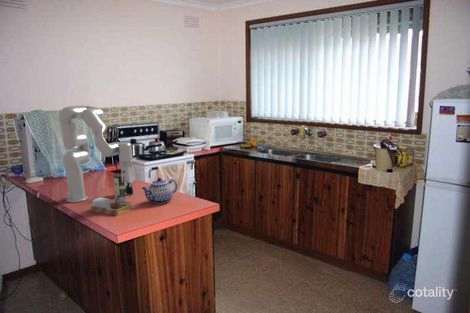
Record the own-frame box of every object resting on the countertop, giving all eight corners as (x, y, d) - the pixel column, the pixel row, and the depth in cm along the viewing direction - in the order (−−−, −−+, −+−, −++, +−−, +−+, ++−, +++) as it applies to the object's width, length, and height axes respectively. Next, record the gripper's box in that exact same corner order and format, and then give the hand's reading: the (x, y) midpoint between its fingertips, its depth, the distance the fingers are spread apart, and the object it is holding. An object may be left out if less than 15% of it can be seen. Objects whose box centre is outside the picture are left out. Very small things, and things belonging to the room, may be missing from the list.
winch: (109, 204, 228) (108, 197, 227) (118, 201, 235) (118, 194, 234) (122, 206, 224) (121, 199, 223) (131, 202, 231) (130, 195, 230)
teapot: (171, 194, 246) (170, 172, 243) (185, 199, 234) (183, 176, 232) (136, 203, 229) (134, 179, 226) (149, 208, 218) (147, 183, 215)
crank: (116, 197, 227) (115, 188, 226) (117, 195, 230) (116, 187, 229) (133, 196, 228) (132, 187, 227) (133, 194, 231) (133, 186, 230)
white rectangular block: (93, 210, 219) (92, 200, 218) (101, 207, 224) (100, 197, 223) (103, 211, 215) (102, 201, 214) (110, 208, 221) (109, 198, 220)
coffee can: (134, 193, 251) (132, 173, 249) (126, 198, 241) (125, 176, 239) (120, 193, 253) (118, 172, 251) (112, 197, 243) (110, 176, 241)
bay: (90, 211, 216) (90, 206, 216) (105, 205, 226) (104, 200, 226) (117, 215, 208) (116, 210, 207) (131, 209, 218) (130, 204, 217)
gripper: (127, 165, 214) (130, 196, 218) (137, 160, 229) (140, 189, 232) (115, 166, 215) (118, 197, 219) (125, 161, 230) (128, 190, 233)
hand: (129, 193), depth 225 cm, fingers closed
